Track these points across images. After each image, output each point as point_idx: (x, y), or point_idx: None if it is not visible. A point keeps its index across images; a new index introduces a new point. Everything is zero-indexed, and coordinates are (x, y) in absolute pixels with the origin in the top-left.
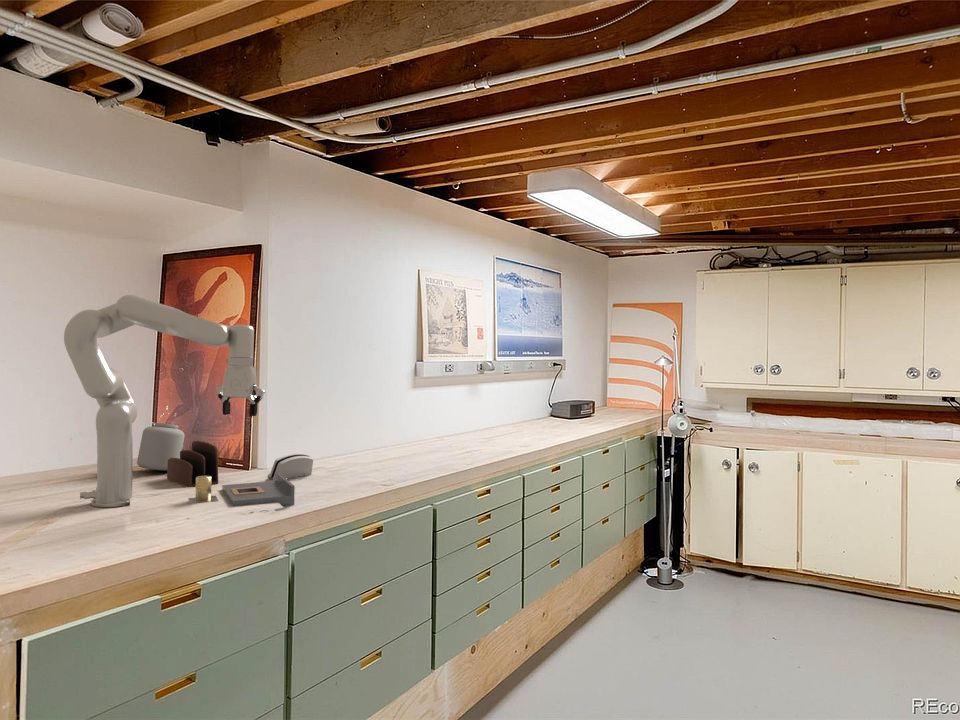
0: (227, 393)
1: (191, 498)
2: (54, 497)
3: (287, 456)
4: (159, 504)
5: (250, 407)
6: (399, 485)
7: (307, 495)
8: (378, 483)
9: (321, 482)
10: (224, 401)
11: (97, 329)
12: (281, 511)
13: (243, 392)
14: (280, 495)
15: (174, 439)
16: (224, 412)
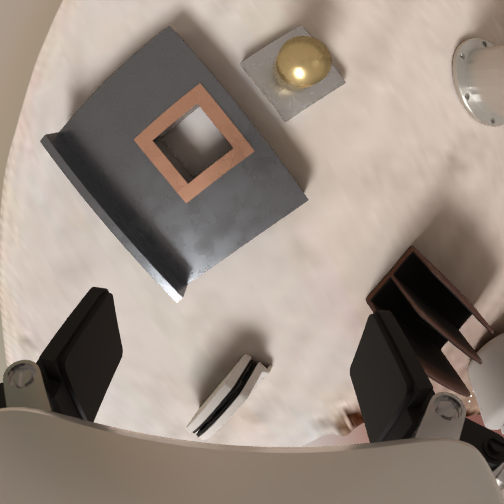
0: (416, 487)
1: (334, 78)
2: None
3: (223, 413)
4: (399, 65)
5: (64, 335)
6: (11, 340)
7: (86, 232)
8: (42, 352)
9: (134, 353)
10: (425, 410)
11: None
12: (68, 73)
13: (27, 487)
14: (81, 123)
15: (500, 395)
16: (381, 322)
